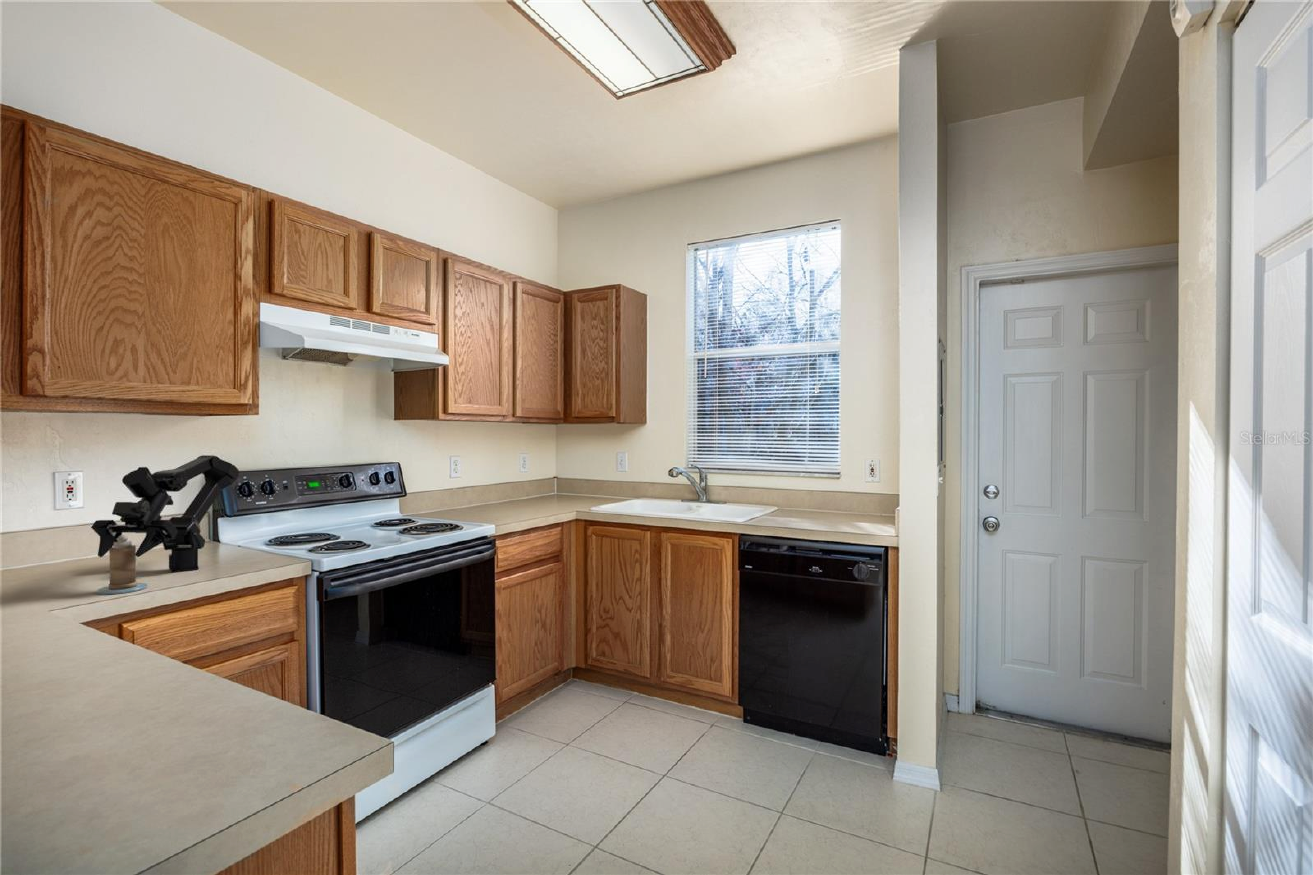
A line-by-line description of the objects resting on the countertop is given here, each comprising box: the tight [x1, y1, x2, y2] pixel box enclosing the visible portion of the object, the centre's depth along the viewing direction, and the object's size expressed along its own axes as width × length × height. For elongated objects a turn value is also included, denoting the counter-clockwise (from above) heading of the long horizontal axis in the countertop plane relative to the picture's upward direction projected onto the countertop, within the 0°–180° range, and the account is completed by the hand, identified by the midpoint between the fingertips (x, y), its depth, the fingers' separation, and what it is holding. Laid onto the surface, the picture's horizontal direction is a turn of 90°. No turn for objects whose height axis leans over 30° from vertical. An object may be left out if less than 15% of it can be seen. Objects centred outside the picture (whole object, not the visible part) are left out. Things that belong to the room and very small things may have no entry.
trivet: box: [96, 582, 148, 596], centre depth 163 cm, size 10×10×1 cm
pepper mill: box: [108, 534, 138, 590], centre depth 163 cm, size 6×6×14 cm
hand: (118, 556), depth 161 cm, fingers open, 9 cm apart
